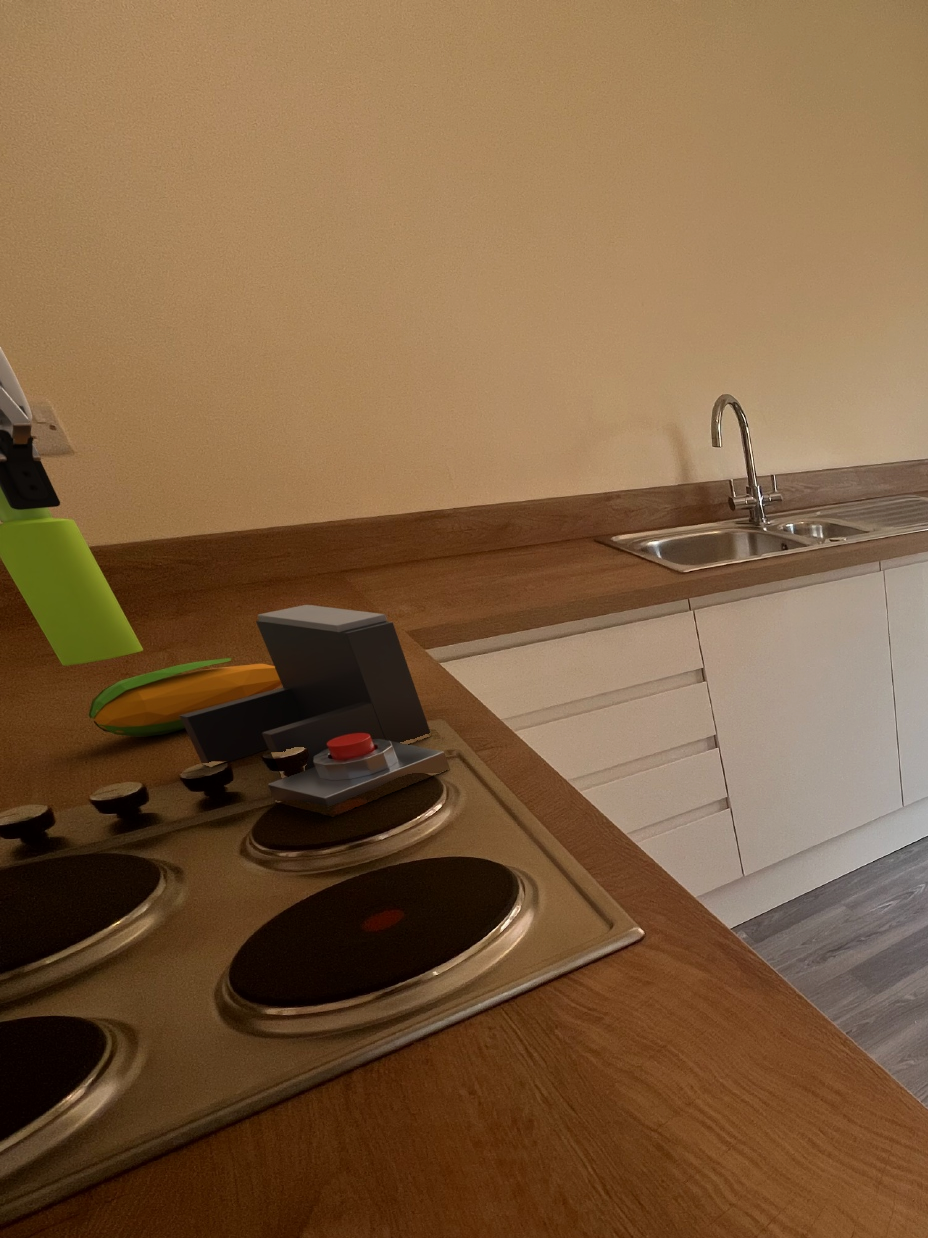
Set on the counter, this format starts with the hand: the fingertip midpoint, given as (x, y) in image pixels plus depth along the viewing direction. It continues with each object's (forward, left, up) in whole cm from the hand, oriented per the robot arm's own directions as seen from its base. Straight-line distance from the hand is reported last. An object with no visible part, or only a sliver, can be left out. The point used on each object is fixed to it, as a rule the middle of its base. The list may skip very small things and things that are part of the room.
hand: (20, 504), depth 79 cm
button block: (+7, -24, -28) cm, 38 cm away
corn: (+13, +16, -29) cm, 35 cm away
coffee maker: (+11, -9, -28) cm, 32 cm away
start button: (+7, -24, -25) cm, 35 cm away
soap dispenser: (0, -2, -15) cm, 15 cm away
